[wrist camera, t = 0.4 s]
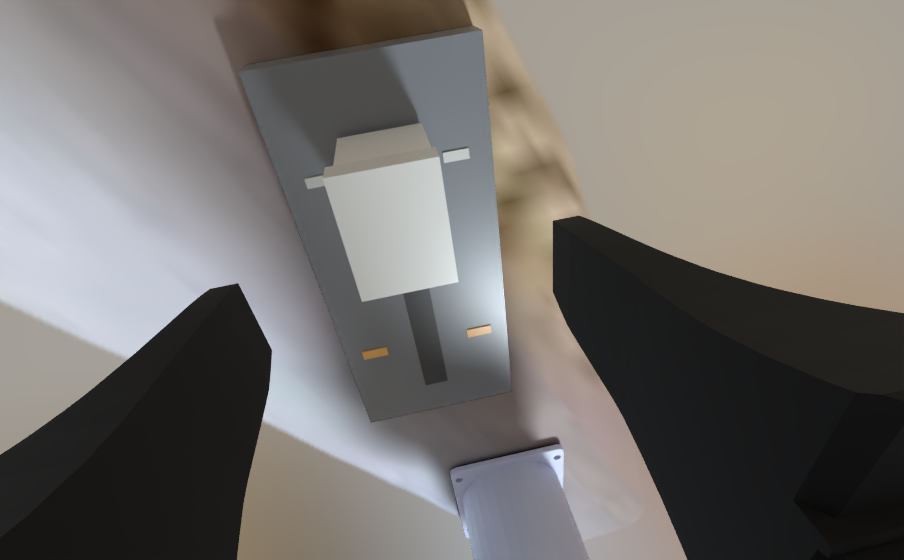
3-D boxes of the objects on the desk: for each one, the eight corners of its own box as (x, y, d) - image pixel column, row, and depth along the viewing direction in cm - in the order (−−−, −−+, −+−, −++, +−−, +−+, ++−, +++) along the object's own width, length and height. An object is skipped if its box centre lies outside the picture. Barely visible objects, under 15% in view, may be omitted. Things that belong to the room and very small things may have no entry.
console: (505, 371, 26) (512, 392, 25) (370, 401, 26) (371, 423, 25) (473, 25, 16) (482, 29, 15) (247, 64, 16) (237, 72, 14)
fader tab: (436, 211, 18) (458, 282, 14) (362, 225, 18) (361, 302, 14) (419, 108, 16) (439, 156, 11) (333, 123, 15) (322, 178, 11)
